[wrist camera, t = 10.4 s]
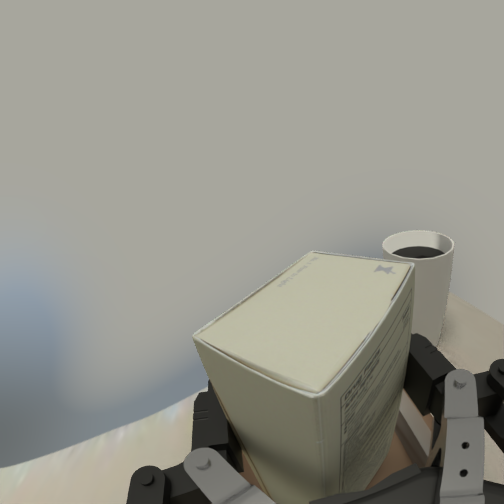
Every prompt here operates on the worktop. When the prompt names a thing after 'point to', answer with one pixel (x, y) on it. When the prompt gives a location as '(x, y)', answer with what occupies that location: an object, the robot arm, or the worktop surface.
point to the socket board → (402, 446)
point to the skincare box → (314, 372)
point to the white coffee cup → (425, 276)
